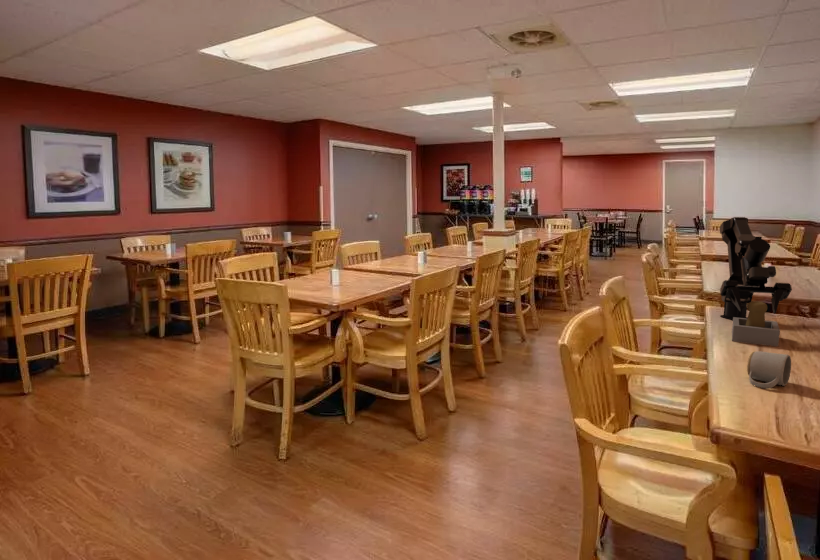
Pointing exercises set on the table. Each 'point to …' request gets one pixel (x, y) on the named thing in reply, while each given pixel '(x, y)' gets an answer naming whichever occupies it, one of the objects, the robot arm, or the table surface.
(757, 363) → the ceramic mug
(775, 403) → the table surface
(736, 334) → the holder block
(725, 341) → the table surface
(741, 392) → the table surface
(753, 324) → the cork
